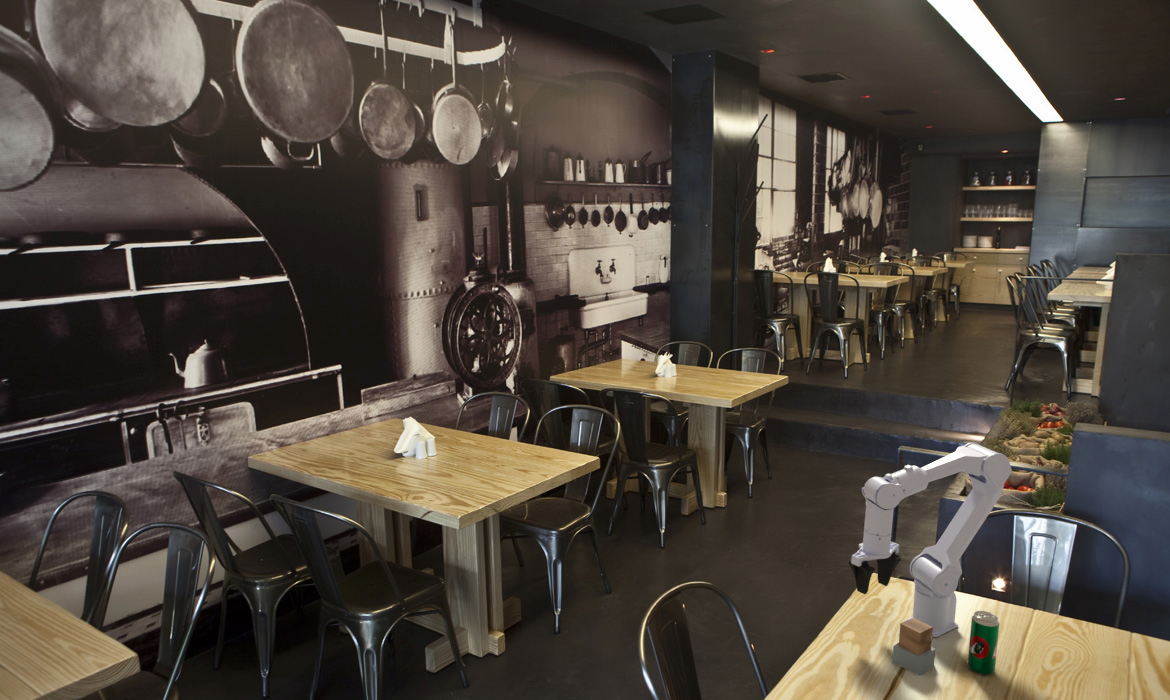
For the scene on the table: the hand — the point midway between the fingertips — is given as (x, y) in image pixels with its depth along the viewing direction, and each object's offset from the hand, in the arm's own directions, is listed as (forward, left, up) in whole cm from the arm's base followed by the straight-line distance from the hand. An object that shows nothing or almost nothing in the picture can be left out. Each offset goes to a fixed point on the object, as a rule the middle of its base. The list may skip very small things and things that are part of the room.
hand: (872, 588), depth 168 cm
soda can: (-6, +22, -11) cm, 25 cm away
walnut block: (+3, +13, -7) cm, 15 cm away
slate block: (+4, +13, -11) cm, 17 cm away
